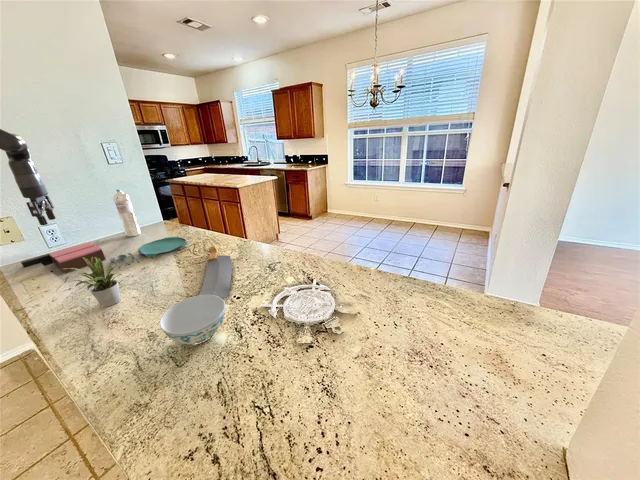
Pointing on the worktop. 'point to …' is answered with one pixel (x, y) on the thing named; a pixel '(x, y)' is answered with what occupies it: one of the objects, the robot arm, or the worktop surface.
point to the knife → (38, 261)
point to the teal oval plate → (155, 248)
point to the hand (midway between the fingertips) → (48, 222)
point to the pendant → (305, 304)
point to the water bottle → (126, 214)
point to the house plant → (101, 283)
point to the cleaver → (217, 275)
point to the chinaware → (193, 319)
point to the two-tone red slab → (76, 257)
